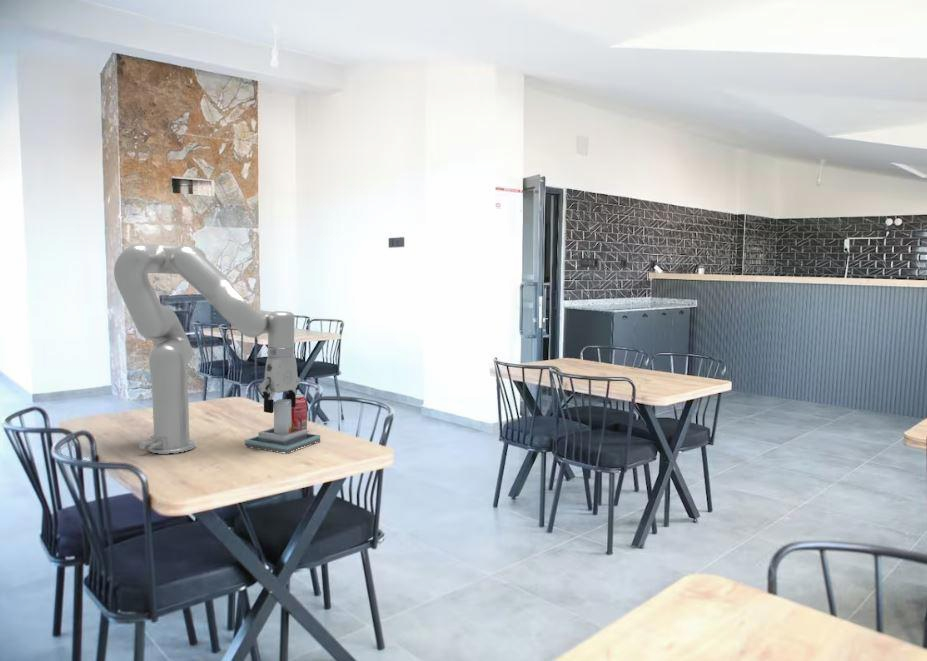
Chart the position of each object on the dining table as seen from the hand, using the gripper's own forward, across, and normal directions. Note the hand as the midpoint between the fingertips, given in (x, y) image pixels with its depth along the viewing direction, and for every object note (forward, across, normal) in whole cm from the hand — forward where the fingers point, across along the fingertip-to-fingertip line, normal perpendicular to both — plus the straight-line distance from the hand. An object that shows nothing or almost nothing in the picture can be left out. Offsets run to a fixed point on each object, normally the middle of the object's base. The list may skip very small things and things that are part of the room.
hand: (279, 409), depth 201 cm
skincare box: (+10, +1, -1) cm, 10 cm away
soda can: (+11, +14, +5) cm, 18 cm away
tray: (+11, +1, -1) cm, 11 cm away
